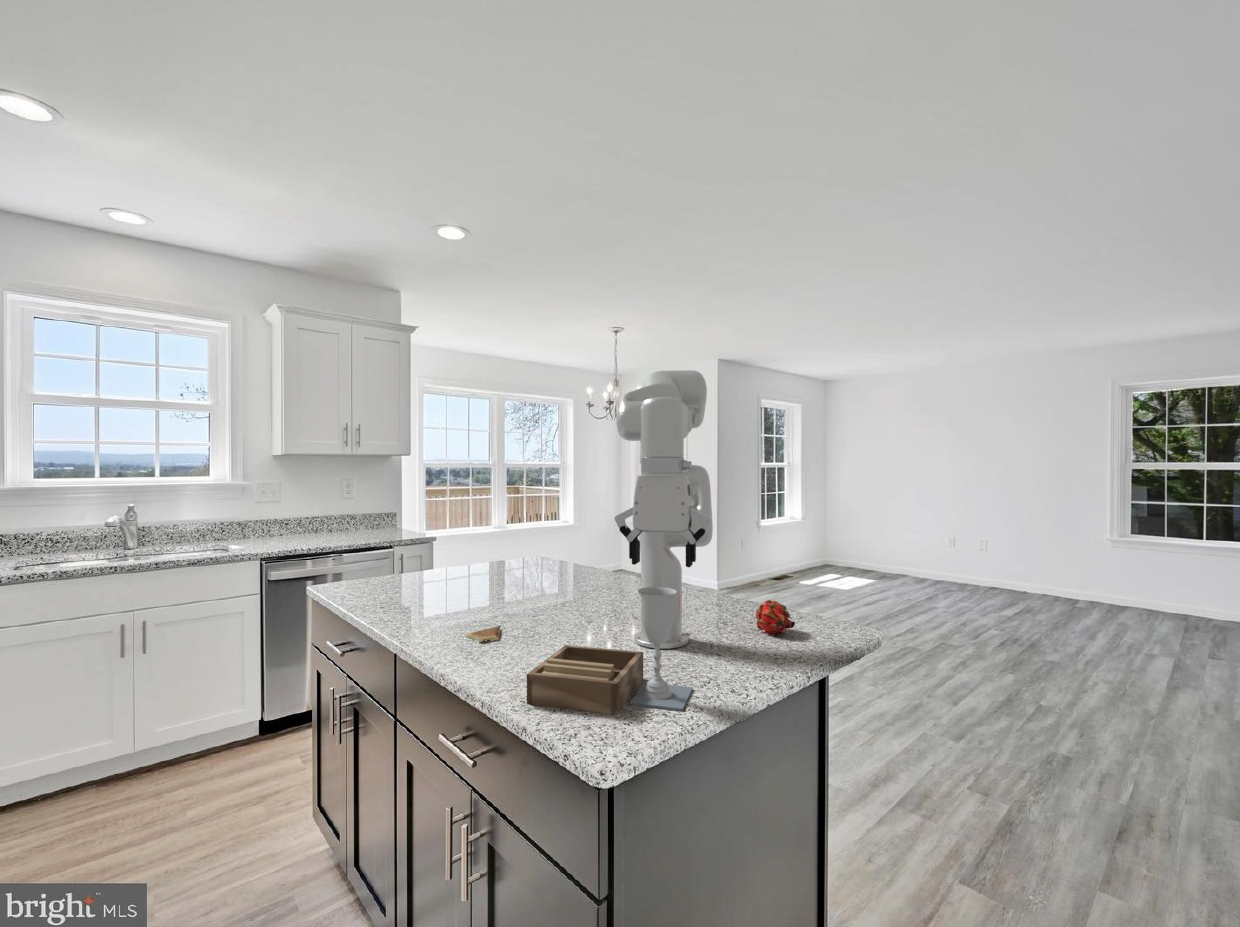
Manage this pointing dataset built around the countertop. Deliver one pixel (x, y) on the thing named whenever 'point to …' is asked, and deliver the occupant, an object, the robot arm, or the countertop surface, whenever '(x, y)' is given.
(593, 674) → the offcut stack
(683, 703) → the mat
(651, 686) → the chalice
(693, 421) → the robot arm
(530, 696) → the frame
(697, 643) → the countertop surface
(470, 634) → the shard
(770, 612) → the dragon fruit
